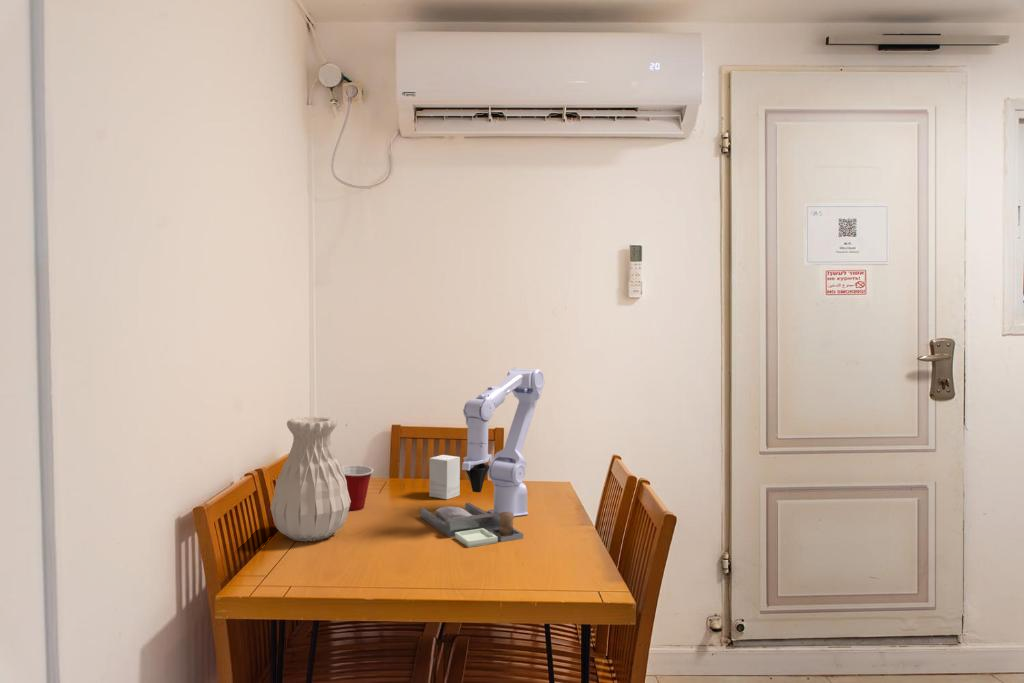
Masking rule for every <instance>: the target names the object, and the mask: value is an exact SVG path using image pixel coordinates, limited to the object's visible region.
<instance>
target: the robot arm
mask: <svg viewBox="0 0 1024 683" xmlns="http://www.w3.org/2000/svg"><path fill="white" fill-rule="evenodd" d="M544 385H545V379H544V374H543V372H542V370H541V369H539V368H536V369H534V368H533V369H531V368H517V367H513V368H511V369H510V370H508V371H507V376H506V377H505V378H504V379H503V380H502V381H501V382H500V383H499V384H498V385H497V386H496V385H489V386H487V389H485V391H483V392H482V393H480V394H479V395H478V396H477V397H476V398H470V399H468V400H467V401H466V402H465V404H464V407H463V411H462V412H463V416H464V417H465V424H466V426H467V435H466V436H467V443H466V444H467V448H466V450H467V451H466V452H467V453H466V456H464V457H463V462H462V465H461V470H462V471H465V472H466V474H467V476H468V478H469V482H470V485H471V487H470V488H471V491H472V492H473V493H482V490H483V485H484V482H485V478H486V476H487V474H488V477H489V479H490V480H491V483H492V484H493V509H488V512H487V513H496V512H497V513H499V514H500V513H501V512H511V513H513V518H514V517H520V516H526V515H529V512H528V490H527V486H526V484H525V483H524V482H523V481H524V479H525V477H526V466H527V460H526V459H525V458H524V456H523V455H522V451H523V449H524V448H523V447H524V444H525V441H526V438H527V435H528V432H529V428H530V425H531V423H532V418H533V415H534V413H535V408H536V406H537V402H538V400H540V398H541V395H542V391H543V389H544ZM509 393H512V394H513V396H514V398H516V399H518V404H517V408H516V410H515V414H514V416H513V420H512V422H511V424H510V425H511V426H510V429H509V431H508V435H507V438H506V441H505V443H504V447H503V449H501V450H499V451H497V452H496V453H495V454H494V456H493V458H492V454H491V453H489V420H491V419H492V417H493V414H494V412H495V410H496V409H497V408H498V407H499V406H500V405H502V404H504V402H505V400H506V396H507V395H509ZM489 462H490V463H489ZM486 463H489V464H486Z"/></svg>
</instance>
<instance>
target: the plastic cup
mask: <svg viewBox="0 0 1024 683" xmlns="http://www.w3.org/2000/svg"><path fill="white" fill-rule="evenodd" d="M341 468H342V471H343V473H344V474H345V478H346V481H347V490H348V493H349V497H350V500H351V503H350V507H349V511H348V512H350V511H361V510H363V509H364V507H365V503H366V498H367V496H368V495H367V494H368V489H369V484H370V480H371V477H372V473H373V472H374V469H373V468H372V467H370V466H365V465H361V464H360V465H358V464H350V465H342V466H341Z"/></svg>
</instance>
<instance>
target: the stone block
mask: <svg viewBox="0 0 1024 683" xmlns="http://www.w3.org/2000/svg"><path fill="white" fill-rule="evenodd" d="M434 515H435V516H437V517H438V518H440V519H441V520H443V521H444V522H445V519H452V518H459V517H466V516H474V515H472V514H470V513H469V512H467V511H466V510H465V508H462V507H458V506H442V507H439V508H438V509H436V510H435V512H434Z"/></svg>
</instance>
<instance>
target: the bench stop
mask: <svg viewBox="0 0 1024 683" xmlns="http://www.w3.org/2000/svg"><path fill="white" fill-rule="evenodd" d="M464 510H466V511H467V512H469V513H470V514H472V515H474V516H466V517H459V518H452V519H445V522H444V521H443V520H441V519H440V518H438V517H437V516H435V513H432V512H431V511H429V510H428V509H426V508H425V507H423V508H419V517H420V518H421V519H422V520H424V521H425V522H426V523H428V524H429V525H430V526H432V527H434V528H435V529H436V530H438V531H439V532H441V533H442V534H444V535H445V536H447V537H448V538H449V539H451V538H455V532H461V531H468V530H474V529H481V528H484V529H485V530H487V531H489V530H493V529H499V521H500V514H499V513H497V512H496V513H490V512H487V511H485V510H483V509H481V508H479V507H478V506H476V505H474V504H472V503H471V502H465V503H464Z"/></svg>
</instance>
